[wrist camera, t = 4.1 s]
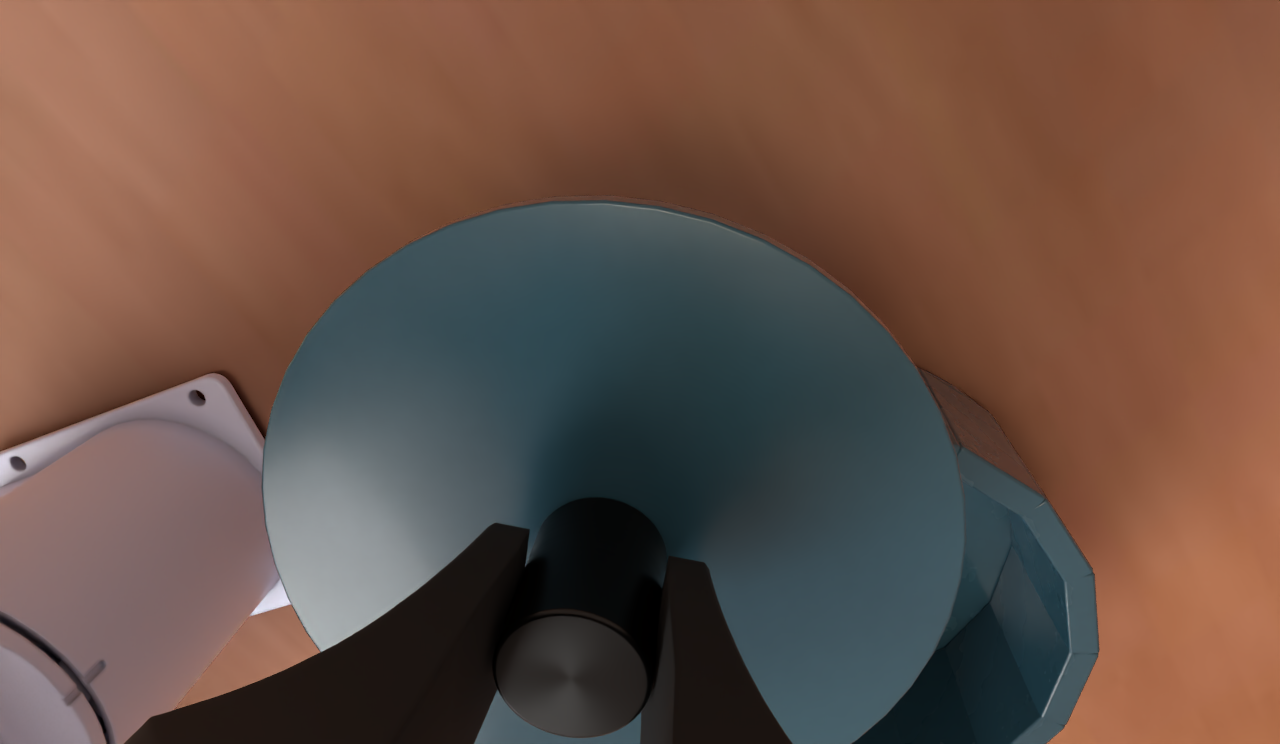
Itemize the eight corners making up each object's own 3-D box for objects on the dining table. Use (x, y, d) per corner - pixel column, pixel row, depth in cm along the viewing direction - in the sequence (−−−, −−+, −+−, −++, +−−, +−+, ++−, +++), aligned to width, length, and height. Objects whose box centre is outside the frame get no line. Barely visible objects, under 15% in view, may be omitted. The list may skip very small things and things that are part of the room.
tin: (605, 649, 28) (580, 773, 23) (661, 316, 23) (644, 390, 19) (960, 717, 28) (1006, 856, 23) (1089, 392, 23) (1179, 485, 18)
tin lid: (291, 704, 19) (175, 883, 15) (284, 126, 14) (112, 167, 10) (852, 816, 19) (885, 1028, 15) (1052, 262, 14) (1183, 359, 10)
